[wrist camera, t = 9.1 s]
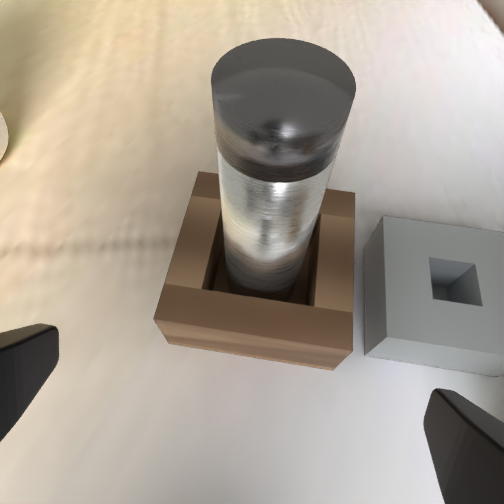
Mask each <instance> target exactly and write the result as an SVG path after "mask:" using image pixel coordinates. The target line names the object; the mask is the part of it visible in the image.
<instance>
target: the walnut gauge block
mask: <svg viewBox="0 0 504 504" xmlns="http://www.w3.org/2000/svg"><path fill="white" fill-rule="evenodd" d="M354 228H355V193H353V192H346V191H338V190H331V189H326V190H325V193H324V196H323V199H322V202H321V206H320V209H319V212H318V215H317V219H316V222H315V225H314V228H313V231H312V235H311V238H310V241H309V244H308V247H307V251H306V254H305V257H304V260H303V263H302V267H301V270H300V273H299V276H298V279H297V283H296V286H295V289H294V292H293V295H292V296H291V298H290V299H289V301H288V302H281V301H275V300H268V299H262V298H255V297H249V296H243V295H236V294H230V292H229V289H228V282H227V270H226V258H225V246H224V233H223V221H222V209H221V196H220V184H219V174H214V173H207V172H198V175H197V178H196V182H195V185H194V188H193V191H192V195H191V198H190V201H189V204H188V208H187V211H186V214H185V217H184V221H183V224H182V227H181V230H180V234H179V237H178V240H177V244H176V247H175V250H174V253H173V257H172V260H171V263H170V266H169V270H168V273H167V276H166V279H165V283H164V286H163V289H162V292H161V296H160V299H159V302H158V305H157V309H156V312H155V315H154V321H155V322H156V324H157V326H158V327H159V329H160V330H161V332H162V334H163V335H164V337H165V338H166V340H167V341H168V343H169V344H175V345H181V346H187V347H193V348H199V349H205V350H211V351H217V352H223V353H230V354H236V355H242V356H248V357H254V358H260V359H266V360H272V361H278V362H284V363H290V364H297V365H303V366H309V367H315V368H321V369H327V370H334V369H335V368H336V367H337V366H338V365H339V364H340V363H341V362H342V361H343V360H344V359H345V358H346V357H347V356H348V355H349V354H350V353H351V352H352V351H353V294H354Z"/></svg>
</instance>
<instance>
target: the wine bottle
mask: <svg viewBox="0 0 504 504" xmlns="http://www.w3.org/2000/svg"><path fill="white" fill-rule="evenodd" d="M8 138H9V135H8V128H7V125H6V123H5V120H4V117H3V115H2V114H1V112H0V160H1V158H2V157H3V155H4V153H5V151H6V148H7V145H8Z"/></svg>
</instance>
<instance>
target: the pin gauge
mask: <svg viewBox="0 0 504 504" xmlns="http://www.w3.org/2000/svg"><path fill="white" fill-rule="evenodd" d="M211 85H212V97H213V110H214V122H215V134H216V147H217V159H218V171H219V184H220V196H221V209H222V221H223V233H224V246H225V258H226V270H227V282H228V289H229V292H230V294H236V295H243V296H249V297H255V298H262V299H268V300H275V301H281V302H288V301H289V299H290V298H291V296H292V295H293V292H294V289H295V286H296V283H297V279H298V276H299V273H300V270H301V267H302V263H303V260H304V257H305V254H306V251H307V247H308V244H309V241H310V238H311V235H312V231H313V228H314V225H315V222H316V219H317V215H318V212H319V209H320V206H321V202H322V199H323V196H324V193H325V190H326V186H327V183H328V180H329V177H330V174H331V170H332V167H333V164H334V161H335V158H336V154H337V151H338V148H339V145H340V142H341V138H342V135H343V132H344V129H345V126H346V122H347V119H348V116H349V113H350V110H351V106H352V103H353V100H354V97H355V92H356V83H355V78H354V76H353V74H352V72H351V70H350V69H349V67H348V66H347V65H346V64H345V62H344V61H342V60H341V59H340V58H339V57H338V56H336V55H335V54H334V53H332V52H330V51H328V50H327V49H325V48H322V47H320V46H318V45H315V44H312V43H309V42H305V41H301V40H295V39H286V38H270V39H261V40H256V41H251V42H248V43H245V44H242V45H240V46H237V47H235V48H234V49H232V50H230V51H229V52H227V53H226V54H225V55H224V56H222V57H221V58H220V60H219V61H218V62H217V63H216V65H215V67H214V69H213V72H212V77H211Z"/></svg>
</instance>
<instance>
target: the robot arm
mask: <svg viewBox="0 0 504 504" xmlns="http://www.w3.org/2000/svg"><path fill="white" fill-rule="evenodd" d="M58 360H59V332H58V329H57V327H56V326H53V325H47V324H35V325H30V326H26V327H22V328H18V329H14V330H10V331H6V332H2V333H0V442H1V441H2V439H3V438H4V437H5V436H6V435H7V433H8V432H9V431H10V430H11V429H12V427H13V426H14V425H15V424H16V422H17V421H18V420H19V418H20V417H21V416H22V414H23V413H24V412H25V410H26V409H27V407H28V406H29V404H30V403H31V402H32V400H33V399H34V397H35V396H36V394H37V393H38V391H39V390H40V389H41V387H42V386H43V384H44V383H45V381H46V380H47V378H48V377H49V376H50V374H51V373H52V371H53V370H54V368H55V367H56V365H57V363H58ZM424 431H425V434H426V438H427V442H428V446H429V449H430V453H431V457H432V460H433V464H434V468H435V471H436V475H437V479H438V483H439V486H440V489H441V493H442V496H443V499H444V502H445V504H504V423H503V422H501V421H500V420H498V419H496V418H495V417H493V416H492V415H490V414H489V413H487V412H486V411H484V410H483V409H481V408H480V407H478V406H476V405H475V404H473V403H472V402H470V401H469V400H467V399H466V398H464V397H463V396H461V395H459V394H458V393H456V392H455V391H452V390H446V389H440V388H436V389H434V390H433V391H432V393H431V396H430V399H429V403H428V406H427V409H426V413H425V416H424Z"/></svg>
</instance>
